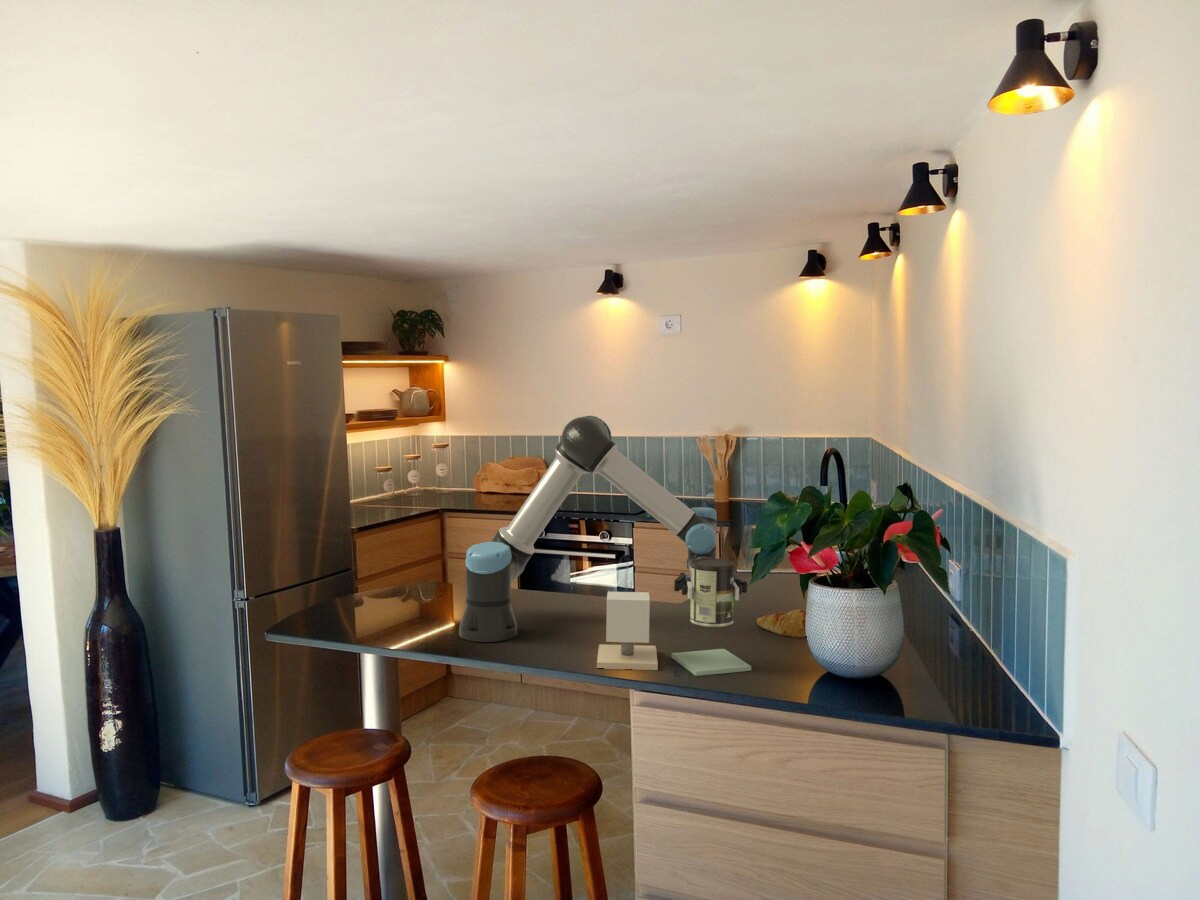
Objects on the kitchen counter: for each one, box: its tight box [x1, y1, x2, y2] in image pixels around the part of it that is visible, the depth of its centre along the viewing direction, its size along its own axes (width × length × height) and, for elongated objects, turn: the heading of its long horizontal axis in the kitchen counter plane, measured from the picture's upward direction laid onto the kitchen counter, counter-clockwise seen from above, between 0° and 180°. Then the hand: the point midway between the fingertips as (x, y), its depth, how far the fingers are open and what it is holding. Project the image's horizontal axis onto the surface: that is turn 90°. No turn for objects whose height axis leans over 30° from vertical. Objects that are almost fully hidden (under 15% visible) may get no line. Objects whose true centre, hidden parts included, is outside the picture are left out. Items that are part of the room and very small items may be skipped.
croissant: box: [756, 608, 807, 638], centre depth 222 cm, size 21×10×8 cm, turn 60°
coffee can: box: [689, 558, 736, 628], centre depth 195 cm, size 10×10×14 cm
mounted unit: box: [596, 591, 659, 671], centre depth 197 cm, size 14×14×16 cm
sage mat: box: [671, 648, 752, 677], centre depth 196 cm, size 14×14×1 cm
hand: (713, 594), depth 190 cm, fingers closed on coffee can, 10 cm apart
